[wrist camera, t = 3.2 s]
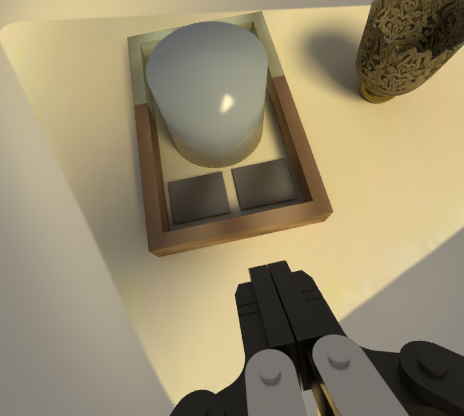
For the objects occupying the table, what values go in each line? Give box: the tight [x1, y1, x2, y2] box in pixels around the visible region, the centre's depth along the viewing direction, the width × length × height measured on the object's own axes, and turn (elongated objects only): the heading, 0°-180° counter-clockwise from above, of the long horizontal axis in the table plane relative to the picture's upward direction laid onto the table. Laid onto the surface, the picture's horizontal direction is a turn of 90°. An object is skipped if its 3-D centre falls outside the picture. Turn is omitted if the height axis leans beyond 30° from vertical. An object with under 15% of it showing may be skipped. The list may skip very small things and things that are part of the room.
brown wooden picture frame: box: [127, 11, 333, 257], centre depth 26 cm, size 14×23×2 cm, turn 12°
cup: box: [356, 0, 464, 103], centre depth 24 cm, size 8×7×8 cm
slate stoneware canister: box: [146, 21, 268, 168], centre depth 23 cm, size 9×9×8 cm
